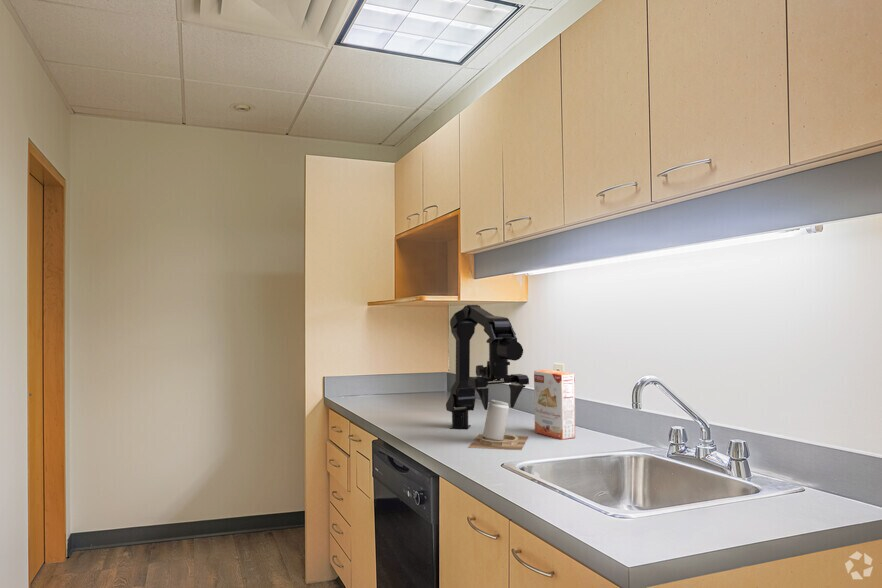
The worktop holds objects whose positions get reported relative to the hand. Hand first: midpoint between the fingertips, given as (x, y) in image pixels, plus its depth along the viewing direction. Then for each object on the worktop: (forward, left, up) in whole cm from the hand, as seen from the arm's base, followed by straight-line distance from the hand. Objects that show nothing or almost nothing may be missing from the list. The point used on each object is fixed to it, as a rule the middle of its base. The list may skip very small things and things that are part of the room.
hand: (499, 408), depth 201 cm
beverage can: (+1, -2, -10) cm, 10 cm away
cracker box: (-15, +16, -11) cm, 24 cm away
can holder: (0, 0, -11) cm, 11 cm away
